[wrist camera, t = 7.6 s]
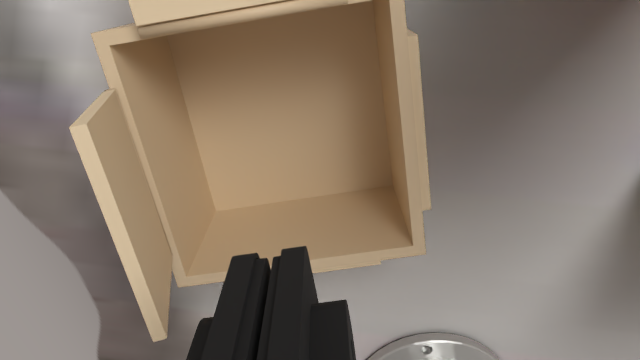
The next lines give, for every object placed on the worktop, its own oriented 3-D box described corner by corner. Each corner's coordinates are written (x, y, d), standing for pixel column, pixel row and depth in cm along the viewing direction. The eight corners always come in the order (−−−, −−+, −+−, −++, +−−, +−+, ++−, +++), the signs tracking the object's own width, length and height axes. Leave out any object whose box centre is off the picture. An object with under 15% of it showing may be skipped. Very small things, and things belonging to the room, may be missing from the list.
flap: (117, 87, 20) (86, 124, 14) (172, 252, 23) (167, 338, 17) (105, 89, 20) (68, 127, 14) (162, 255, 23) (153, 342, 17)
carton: (409, 194, 31) (436, 261, 24) (213, 222, 32) (180, 295, 25) (388, -24, 26) (415, -24, 19) (154, 17, 27) (90, 33, 19)
